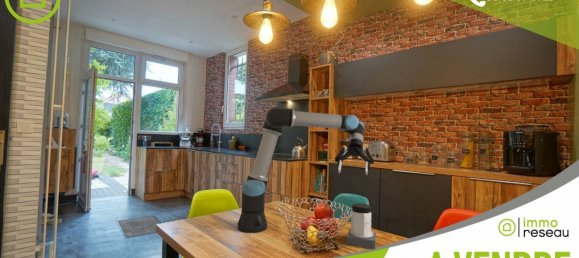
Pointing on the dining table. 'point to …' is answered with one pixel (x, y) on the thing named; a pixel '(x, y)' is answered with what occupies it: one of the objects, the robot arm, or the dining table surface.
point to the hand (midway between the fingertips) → (352, 172)
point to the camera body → (361, 240)
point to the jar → (361, 219)
